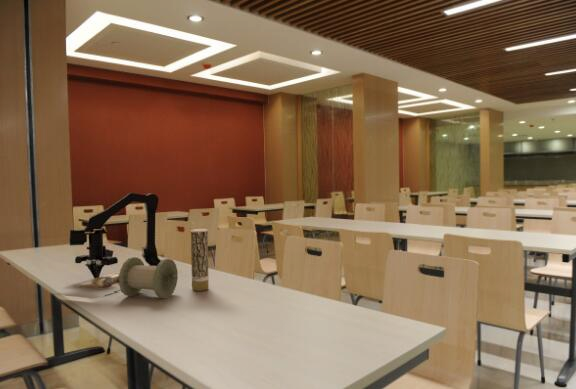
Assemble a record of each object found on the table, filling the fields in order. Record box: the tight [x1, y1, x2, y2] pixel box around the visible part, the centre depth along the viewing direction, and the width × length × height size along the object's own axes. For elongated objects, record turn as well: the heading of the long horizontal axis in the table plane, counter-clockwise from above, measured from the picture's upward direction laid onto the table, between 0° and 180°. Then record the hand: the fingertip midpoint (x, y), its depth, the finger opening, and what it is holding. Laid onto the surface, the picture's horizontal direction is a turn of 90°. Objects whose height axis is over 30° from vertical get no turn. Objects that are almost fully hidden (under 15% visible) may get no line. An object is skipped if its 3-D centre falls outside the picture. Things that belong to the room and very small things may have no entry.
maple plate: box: [91, 273, 119, 287], centre depth 186 cm, size 6×11×2 cm, turn 160°
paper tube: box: [190, 228, 210, 292], centre depth 179 cm, size 7×7×25 cm
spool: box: [118, 256, 179, 300], centre depth 169 cm, size 16×15×15 cm
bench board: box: [71, 272, 120, 289], centre depth 187 cm, size 20×15×5 cm
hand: (96, 279), depth 188 cm, fingers closed
